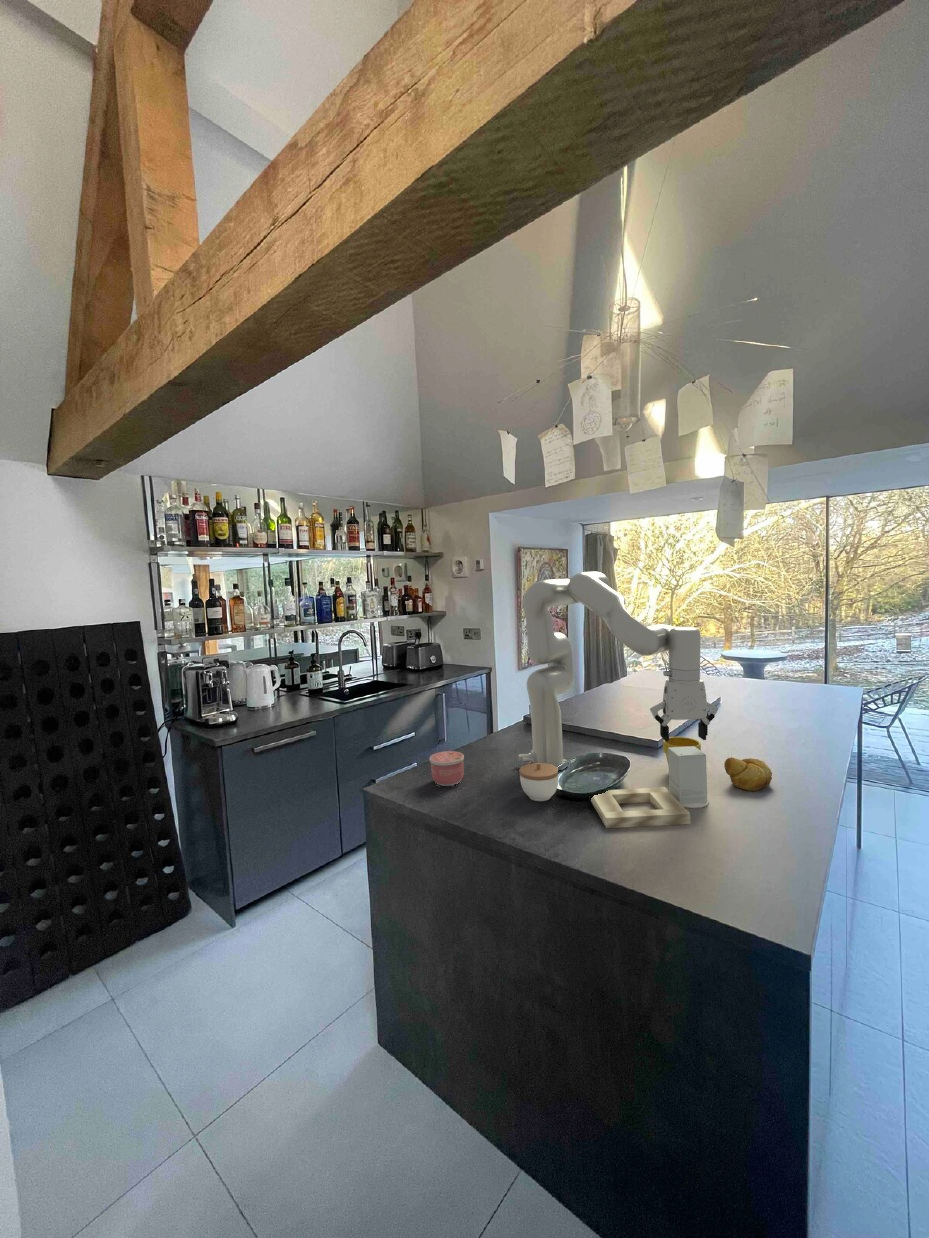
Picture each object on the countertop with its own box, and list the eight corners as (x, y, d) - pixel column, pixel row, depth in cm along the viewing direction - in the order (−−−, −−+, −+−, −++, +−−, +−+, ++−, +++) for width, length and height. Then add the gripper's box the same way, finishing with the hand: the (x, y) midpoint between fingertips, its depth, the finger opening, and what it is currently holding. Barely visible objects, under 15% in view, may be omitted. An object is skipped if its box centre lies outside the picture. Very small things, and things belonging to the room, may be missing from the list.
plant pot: (703, 770, 155) (702, 738, 155) (699, 782, 146) (698, 748, 146) (666, 765, 161) (665, 734, 160) (660, 777, 152) (659, 744, 151)
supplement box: (708, 802, 132) (707, 754, 131) (679, 804, 132) (677, 755, 131) (696, 791, 139) (695, 745, 138) (668, 792, 139) (667, 746, 139)
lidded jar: (561, 789, 147) (559, 757, 146) (557, 806, 136) (556, 771, 136) (523, 787, 149) (522, 756, 149) (517, 803, 139) (515, 769, 138)
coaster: (676, 809, 131) (676, 806, 131) (661, 793, 141) (661, 790, 141) (716, 807, 130) (716, 804, 130) (698, 791, 140) (698, 789, 140)
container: (458, 790, 150) (457, 763, 150) (425, 787, 154) (423, 761, 153) (469, 776, 160) (468, 751, 160) (438, 774, 164) (437, 750, 163)
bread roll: (751, 774, 150) (750, 747, 149) (784, 785, 141) (783, 757, 141) (720, 784, 144) (720, 756, 144) (753, 796, 136) (753, 766, 135)
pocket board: (606, 828, 123) (606, 817, 123) (590, 800, 139) (589, 790, 139) (690, 823, 123) (690, 813, 122) (664, 796, 139) (664, 787, 138)
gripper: (656, 678, 130) (655, 744, 131) (724, 676, 130) (723, 742, 131) (645, 672, 137) (645, 735, 139) (710, 670, 137) (710, 733, 139)
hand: (683, 738), depth 135 cm, fingers open, 9 cm apart
